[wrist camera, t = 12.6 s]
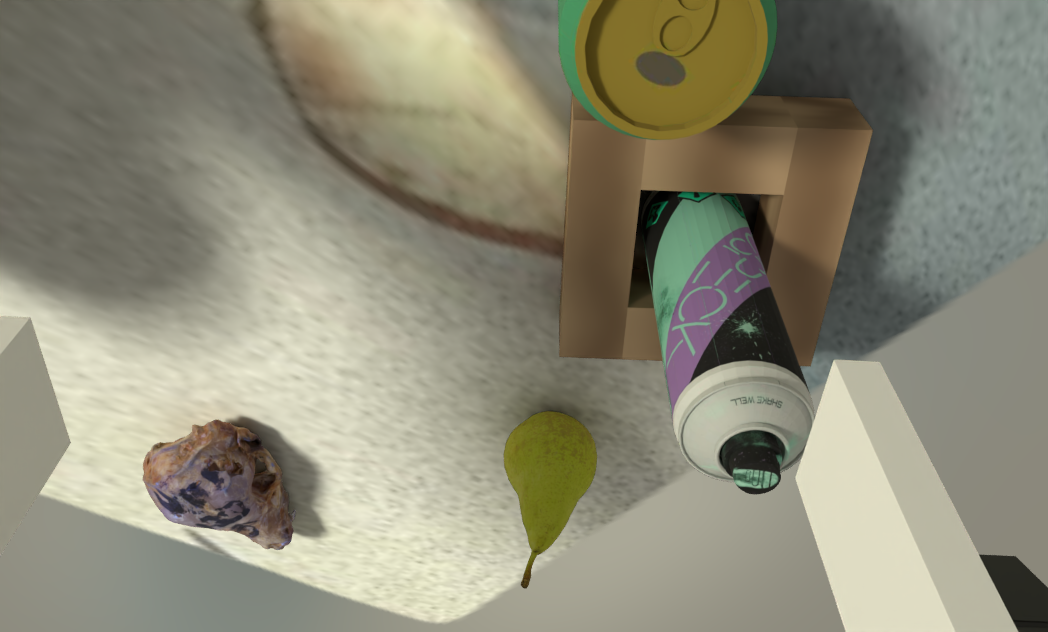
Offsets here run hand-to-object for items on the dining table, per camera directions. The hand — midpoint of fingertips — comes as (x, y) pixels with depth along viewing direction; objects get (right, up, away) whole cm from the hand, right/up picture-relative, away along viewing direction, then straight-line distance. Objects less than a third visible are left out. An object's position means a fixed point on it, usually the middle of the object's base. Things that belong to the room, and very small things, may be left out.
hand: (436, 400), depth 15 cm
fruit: (+3, -5, +43) cm, 43 cm away
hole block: (+11, +7, +34) cm, 36 cm away
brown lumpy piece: (-18, -9, +46) cm, 51 cm away
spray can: (+11, +7, +34) cm, 36 cm away
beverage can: (+7, +18, +27) cm, 33 cm away
